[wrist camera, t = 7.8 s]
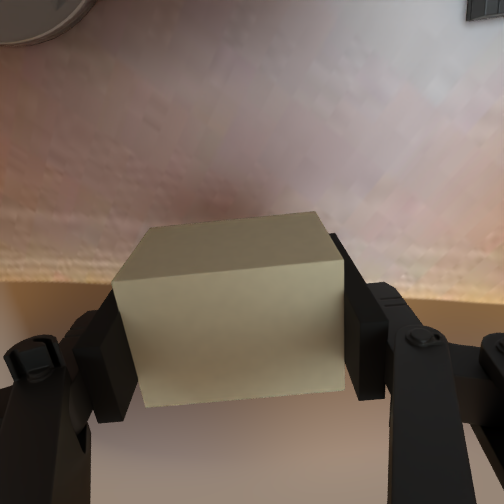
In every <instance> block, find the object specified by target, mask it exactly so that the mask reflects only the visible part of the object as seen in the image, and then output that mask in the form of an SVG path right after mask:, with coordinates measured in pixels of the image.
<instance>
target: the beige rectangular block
mask: <svg viewBox="0 0 504 504" xmlns="http://www.w3.org/2000/svg"><path fill="white" fill-rule="evenodd" d="M111 284H112V288H113V291H114V295H115V299H116V302H117V306H118V310H119V311H120V314H121V318H122V321H123V325H124V328H125V332H126V336H127V339H128V343H129V347H130V350H131V354H132V358H133V361H134V365H135V369H136V372H137V376H138V382H139V386H140V389H141V393H142V397H143V400H144V404H145V407H146V408H148V407H161V406H171V405H183V404H195V403H206V402H217V401H229V400H239V399H251V398H263V397H274V396H285V395H297V394H308V393H320V392H330V391H343V390H345V361H344V259H343V258H342V256H341V254H340V252H339V251H338V249H337V247H336V246H335V244H334V242H333V241H332V239H331V237H330V235H329V234H328V232H327V230H326V229H325V227H324V225H323V224H322V222H321V220H320V219H319V217H318V215H317V213H316V212H315V211H313V212H303V213H293V214H283V215H273V216H263V217H253V218H243V219H233V220H223V221H213V222H203V223H193V224H183V225H173V226H163V227H153V228H149V230H148V231H147V233H146V234H145V235H144V237H143V238H142V240H141V241H140V242H139V244H138V245H137V247H136V248H135V249H134V251H133V252H132V254H131V255H130V256H129V258H128V259H127V261H126V262H125V263H124V265H123V266H122V268H121V269H120V270H119V272H118V273H117V275H116V276H115V277H114V279H113V280H112V282H111Z"/></svg>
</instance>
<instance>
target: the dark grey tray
mask: <svg viewBox="0 0 504 504" xmlns="http://www.w3.org/2000/svg"><path fill="white" fill-rule="evenodd" d="M501 16H504V0H468V7H467V19H466V21H474V20H481V19H487V18H494V17H501Z"/></svg>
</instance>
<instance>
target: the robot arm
mask: <svg viewBox="0 0 504 504" xmlns="http://www.w3.org/2000/svg"><path fill="white" fill-rule="evenodd" d="M95 2H96V0H0V46H28V45H33V44H38V43H42V42H45V41H48V40H51V39H53V38H55V37H57V36H59V35H61V34H63V33H64V32H66V31H67V30H69V29H70V28H72V27H73V26H74V25H75V24H77V23H78V22H79V21H80V20H81V19H82V18H83V17H84V16H85V15H86V14H87V13H88V11H89V10H90V9H91V7H92V6H93V5H94V3H95ZM329 235H330V237H331V239H332V241H333V242H334V244H335V246H336V247H337V249H338V251H339V252H340V254H341V256H342V258H343V259H344V361H345V364H346V367H347V370H348V372H349V375H350V378H351V381H352V384H353V386H354V389H355V392H356V394H357V397H358V400H359V401H364V400H374V399H385V384H386V386H387V388H388V390H389V392H390V394H391V402H390V419H389V427H390V430H389V465H388V499H387V500H388V501H387V504H477V503H476V498H475V492H474V487H473V481H472V475H471V469H470V464H469V458H468V453H467V447H466V442H465V436H464V430H463V424H462V422H463V423H469V424H470V425H471V427H472V429H473V431H474V433H475V435H476V437H477V439H478V441H479V443H480V445H481V447H482V449H483V451H484V453H485V454H486V456H487V458H488V460H489V462H490V464H491V466H492V468H493V470H494V472H495V474H496V476H497V478H498V480H499V482H500V484H501V485H502V488H503V489H504V333H493V334H489V335H487V336H485V337H483V340H482V342H481V347H475V346H466V345H458V344H452V343H449V342H448V341H447V339H446V338H445V336H444V335H443V334H442V333H440V332H439V331H438V330H436V329H433V328H431V327H427V326H423V325H422V323H421V322H420V320H419V319H418V318H417V316H416V315H415V314H414V312H413V311H412V310H411V308H410V307H409V306H408V305H407V303H406V302H405V300H404V299H403V298H402V296H401V295H400V294H399V292H398V291H397V290H396V288H394V287H392V286H390V285H389V284H387V283H385V282H379V283H368V284H366V282H365V281H364V279H363V278H362V276H361V274H360V273H359V271H358V269H357V268H356V266H355V265H354V263H353V261H352V260H351V258H350V256H349V255H348V253H347V252H346V250H345V248H344V247H343V245H342V243H341V242H340V240H339V239H338V237H337V235H336V234H335V233H331V234H329ZM4 360H5V362H6V364H7V366H8V368H9V371H10V373H11V375H12V378H13V380H14V383H13V385H12V386H9V387H6V388H2V389H0V504H90V483H91V431H90V428H89V425H88V422H87V421H88V419H89V417H90V414H91V412H92V410H94V413H95V416H96V419H97V422H98V423H109V422H121V421H123V420H124V418H125V415H126V412H127V409H128V407H129V404H130V401H131V399H132V396H133V393H134V390H135V388H136V385H137V382H138V376H137V372H136V369H135V365H134V361H133V358H132V354H131V350H130V347H129V343H128V339H127V336H126V332H125V328H124V325H123V321H122V318H121V314H120V311H119V310H118V306H117V302H116V299H115V295H114V291H113V288H112V290H111V291H110V293H109V294H108V296H107V297H106V299H105V300H104V302H103V303H102V305H101V307H100V308H99V309H98V310H92V311H87V312H86V313H85V314H83V315H82V316H81V317H79V318H78V319H77V320H76V321H75V322H74V324H73V325H72V326H71V328H70V330H69V331H68V332H67V333H66V335H65V338H63V339H62V340H61V342H60V343H59V344H58V341H57V339H56V337H54V336H52V335H38V336H33V337H31V338H28V339H25V340H23V341H21V342H19V343H17V344H15V345H14V346H13V347H12V348H10V349H9V350H8V351H7V352H6V354H5V355H4Z"/></svg>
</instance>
